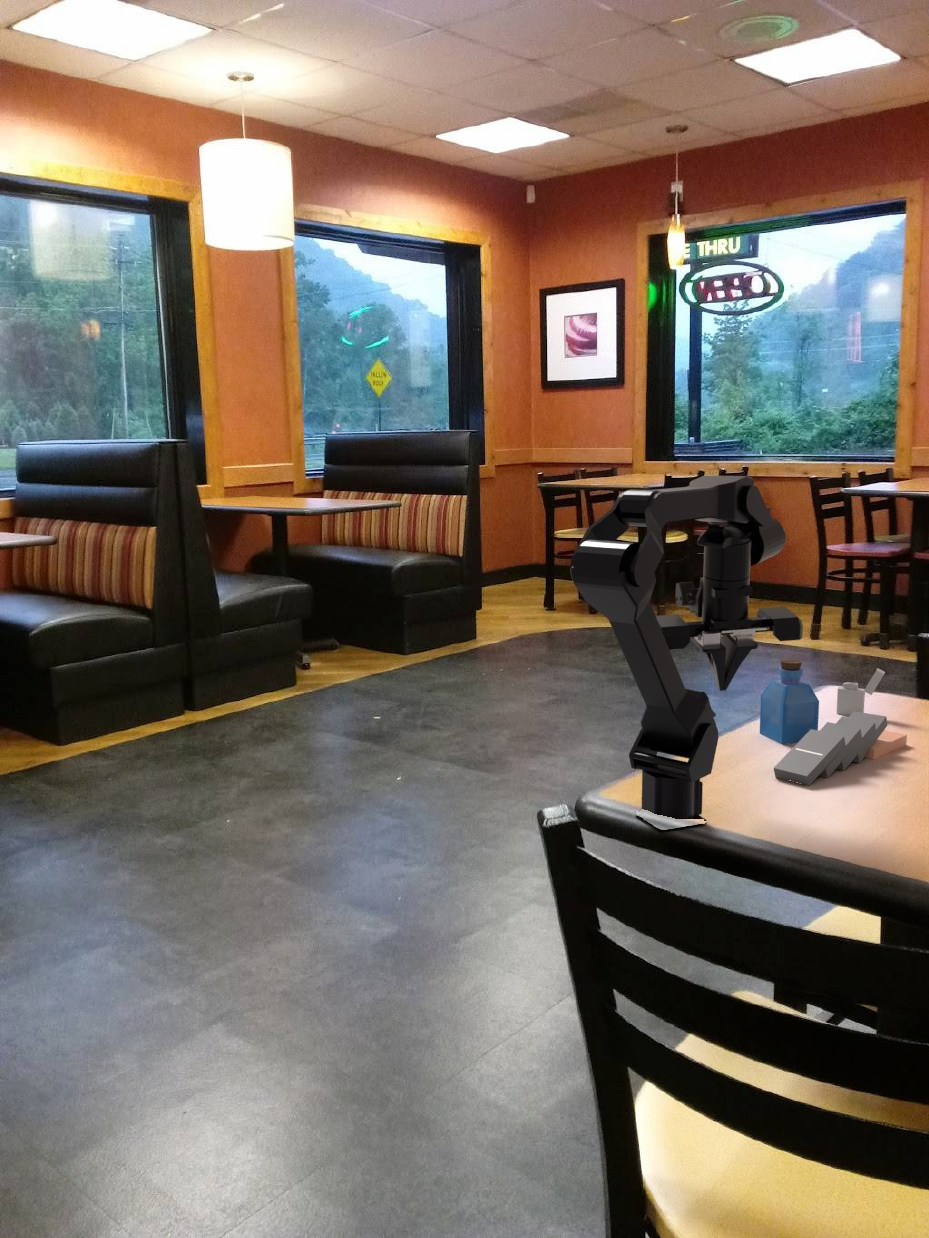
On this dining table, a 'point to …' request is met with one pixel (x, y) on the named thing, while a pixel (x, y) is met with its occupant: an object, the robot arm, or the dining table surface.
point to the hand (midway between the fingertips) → (721, 689)
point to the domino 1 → (809, 757)
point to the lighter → (855, 695)
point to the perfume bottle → (788, 706)
